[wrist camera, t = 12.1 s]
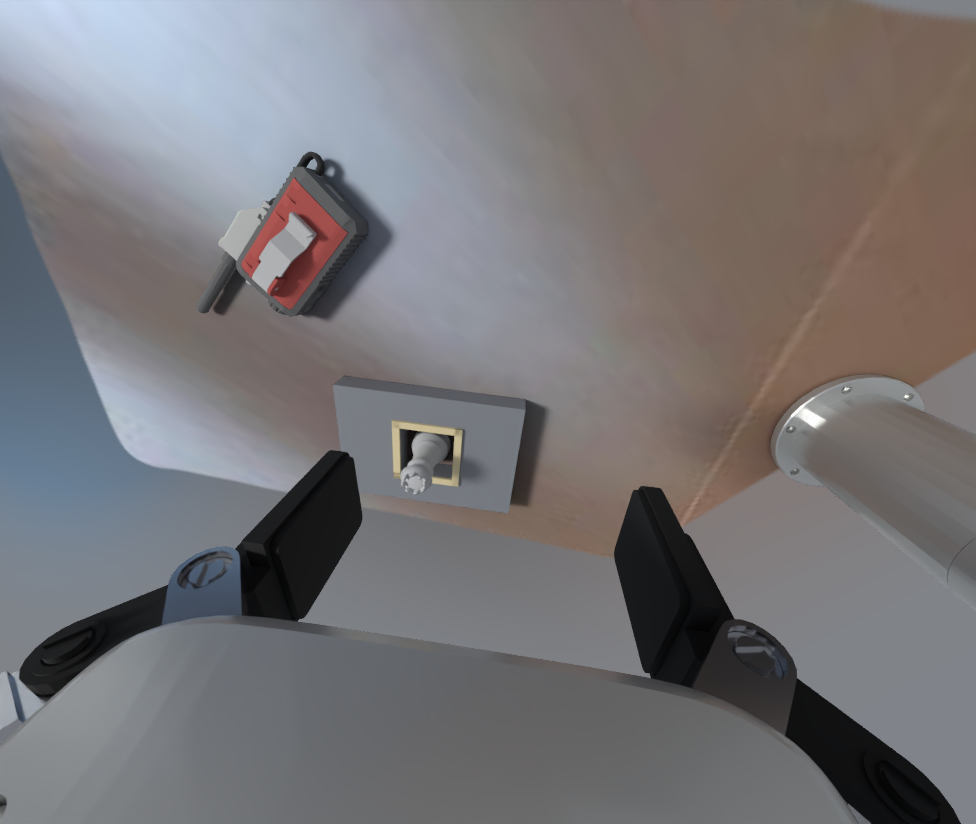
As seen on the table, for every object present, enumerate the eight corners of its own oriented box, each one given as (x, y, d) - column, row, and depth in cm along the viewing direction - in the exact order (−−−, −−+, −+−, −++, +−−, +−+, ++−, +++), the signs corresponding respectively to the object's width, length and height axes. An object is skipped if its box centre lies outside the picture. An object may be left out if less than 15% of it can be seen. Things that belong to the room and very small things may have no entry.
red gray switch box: (301, 131, 28) (201, 300, 36) (265, 113, 24) (161, 308, 32) (383, 219, 31) (273, 361, 38) (362, 217, 27) (244, 376, 34)
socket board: (525, 399, 37) (525, 411, 34) (509, 499, 43) (508, 515, 41) (344, 376, 38) (331, 385, 35) (354, 477, 44) (344, 491, 42)
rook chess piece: (459, 444, 40) (445, 489, 33) (432, 463, 42) (413, 509, 35) (433, 417, 39) (413, 458, 32) (406, 437, 41) (381, 480, 33)
